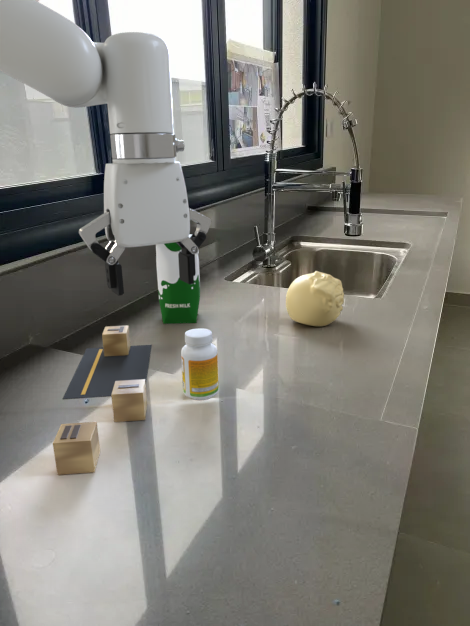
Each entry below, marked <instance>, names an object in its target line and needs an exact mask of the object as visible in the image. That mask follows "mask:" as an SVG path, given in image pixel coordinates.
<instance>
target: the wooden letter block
mask: <svg viewBox="0 0 470 626" xmlns="http://www.w3.org/2000/svg"><path fill="white" fill-rule="evenodd" d="M146 385H147V383H146V384H145V379H141V380H124V381H115V384H114V387H113V391H112V394H111V396H110V397H111V404H112V405H111V407H112V414H113V422H114V423H120V422H121V423H123V422H136V421H137V422H138V421H146V417H147V410H148V397H147V387H146Z"/></svg>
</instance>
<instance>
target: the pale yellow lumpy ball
mask: <svg viewBox="0 0 470 626" xmlns="http://www.w3.org/2000/svg"><path fill="white" fill-rule="evenodd" d="M344 298H345V293H344V288H343V283H342V280H340V279H339V278H337V277H334V276H333V275H331V274H329V273H326V272H321V271H318V270H315V271H314V272H311V273H306V274H303V275H300V276H298V277H297V278H295V279H294V280H293V281H292V282H291V283H290V285H289V287H288V289H287V291H286V295H285V309H286V311H287V314H288V316H289V318H290V319H291V320H292V321H293V322H296V323H299V324H302V325H306V326H312V327H325V326H329V325H330V324H332V323H333V322H335V321H336V320H337V319H338V318H339V316H340V315H341V312H342V311H343V309H344V307H343V306H342V305H344V303H345V299H344Z"/></svg>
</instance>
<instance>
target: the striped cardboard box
mask: <svg viewBox="0 0 470 626" xmlns="http://www.w3.org/2000/svg"><path fill="white" fill-rule="evenodd" d="M58 428H59V429H58V431H57V433H56V435H55V437H54V440H53V441H52V448H53V449H52V450H53V455H54V461H55V468H56V475H57V476H64V475H76V474H88V473H89V474H90V473H95V472H96V469H97V464H98V461H99V458H100V453H101V446H100V445H101V444H100V436H99V430H98V422H97V421H85V422H71V423H61V424H60V426H59V427H58Z"/></svg>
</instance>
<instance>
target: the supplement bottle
mask: <svg viewBox="0 0 470 626" xmlns="http://www.w3.org/2000/svg"><path fill="white" fill-rule="evenodd" d="M184 342H185V345H184V346H182V347H181V351H180V359H181V377H182V393H183V394H184V396H186V397H187V398H189V399H193V400H195V401H202V400H203V401H205V400H209V399H210V398H212V397H214V396H216V395H217V394H218V393H219V390H220V389H219V387H220V385H219V361H218V360H219V359H218V358H219V357H218V356H219V355H218V347H217V346H216V345H215V344H214V343H213V332H212V330H211V329H209V328H203V327H199V328H198V327H197V328H192V329H191V328H190V329H189V330H186V331H185V332H184Z"/></svg>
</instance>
